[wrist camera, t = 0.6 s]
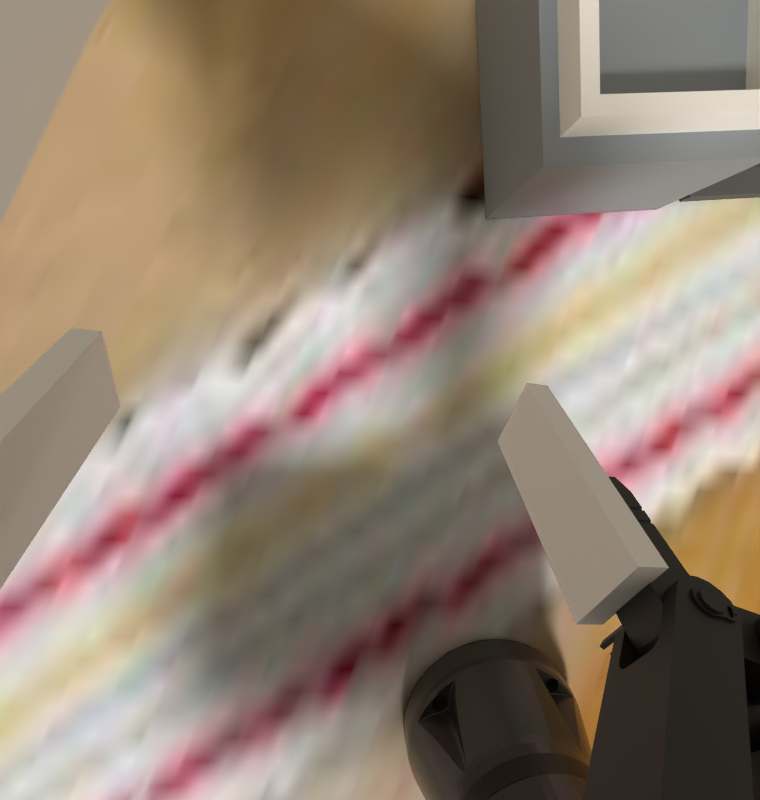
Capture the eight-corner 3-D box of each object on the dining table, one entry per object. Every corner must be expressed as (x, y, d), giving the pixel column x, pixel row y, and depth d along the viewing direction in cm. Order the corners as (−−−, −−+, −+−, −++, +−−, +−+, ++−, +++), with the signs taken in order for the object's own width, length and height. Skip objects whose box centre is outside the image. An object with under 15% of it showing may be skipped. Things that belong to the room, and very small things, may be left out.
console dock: (656, 209, 33) (814, 138, 22) (485, 219, 31) (562, 149, 20) (657, -1, 31) (831, -194, 20) (475, 1, 29) (554, -204, 19)
